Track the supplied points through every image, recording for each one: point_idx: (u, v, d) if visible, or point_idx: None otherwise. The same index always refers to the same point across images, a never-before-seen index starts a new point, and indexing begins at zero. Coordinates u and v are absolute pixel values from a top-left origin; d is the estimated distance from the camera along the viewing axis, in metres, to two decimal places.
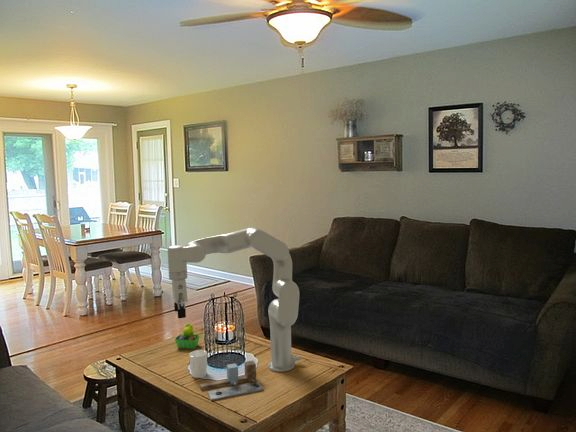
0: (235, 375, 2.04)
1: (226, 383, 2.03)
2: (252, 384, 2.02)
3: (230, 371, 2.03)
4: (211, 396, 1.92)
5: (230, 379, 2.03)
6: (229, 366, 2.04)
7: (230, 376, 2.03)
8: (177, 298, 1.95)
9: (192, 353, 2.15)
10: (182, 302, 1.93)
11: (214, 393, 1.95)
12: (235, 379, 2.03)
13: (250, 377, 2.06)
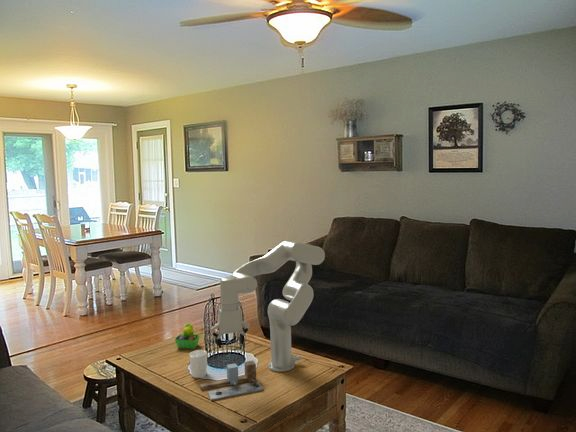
0: (235, 375, 2.04)
1: (226, 383, 2.03)
2: (252, 384, 2.02)
3: (230, 371, 2.03)
4: (211, 396, 1.92)
5: (230, 379, 2.03)
6: (229, 366, 2.04)
7: (230, 376, 2.03)
8: None
9: (192, 353, 2.15)
10: None
11: (214, 393, 1.95)
12: (235, 379, 2.03)
13: (250, 377, 2.06)
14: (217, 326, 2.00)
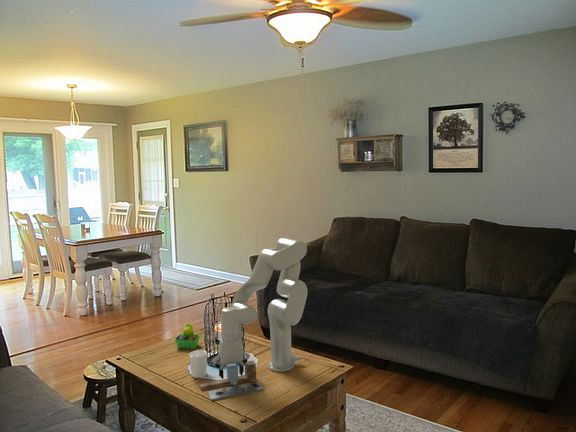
0: (235, 375, 2.04)
1: (226, 383, 2.03)
2: (252, 384, 2.02)
3: (230, 371, 2.03)
4: (211, 396, 1.92)
5: (230, 379, 2.03)
6: (229, 366, 2.04)
7: (230, 376, 2.03)
8: None
9: (192, 353, 2.15)
10: None
11: (214, 393, 1.95)
12: (235, 379, 2.03)
13: (250, 377, 2.06)
14: (218, 357, 2.01)
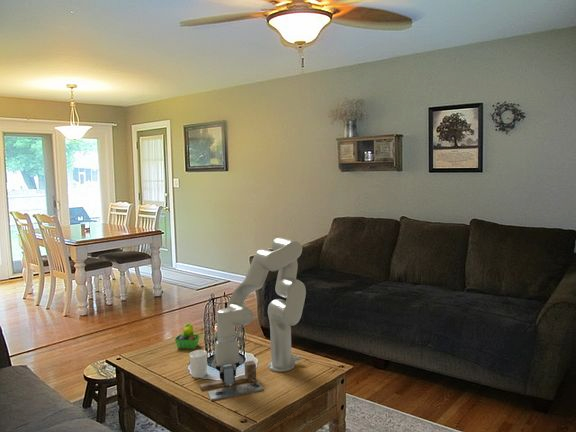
0: (231, 375, 2.03)
1: None
2: (252, 384, 2.02)
3: (225, 372, 2.02)
4: (211, 396, 1.92)
5: (225, 380, 2.02)
6: (224, 367, 2.04)
7: (225, 377, 2.02)
8: (239, 356, 2.04)
9: (192, 353, 2.15)
10: None
11: (214, 393, 1.95)
12: (230, 380, 2.03)
13: (250, 377, 2.06)
14: (215, 362, 2.01)
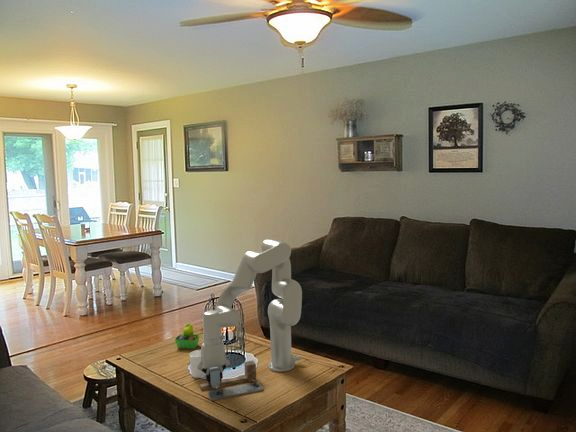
0: (217, 378, 2.01)
1: (226, 383, 2.03)
2: (252, 384, 2.02)
3: (212, 374, 2.00)
4: (211, 396, 1.92)
5: (212, 382, 2.00)
6: (211, 369, 2.01)
7: (212, 379, 2.00)
8: (225, 359, 2.02)
9: (192, 353, 2.15)
10: None
11: (214, 393, 1.95)
12: (217, 382, 2.01)
13: (250, 377, 2.06)
14: (201, 364, 1.99)
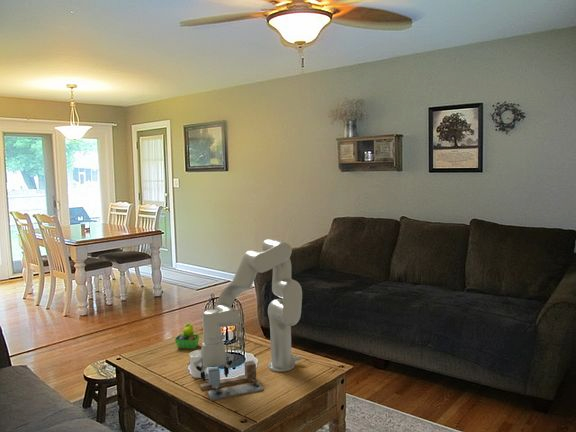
0: (217, 378, 2.01)
1: (226, 383, 2.03)
2: (252, 384, 2.02)
3: (211, 374, 2.00)
4: (211, 396, 1.92)
5: (211, 383, 2.00)
6: (211, 369, 2.01)
7: (211, 379, 2.00)
8: None
9: (192, 353, 2.15)
10: None
11: (214, 393, 1.95)
12: (217, 382, 2.01)
13: (250, 377, 2.06)
14: (200, 360, 1.99)
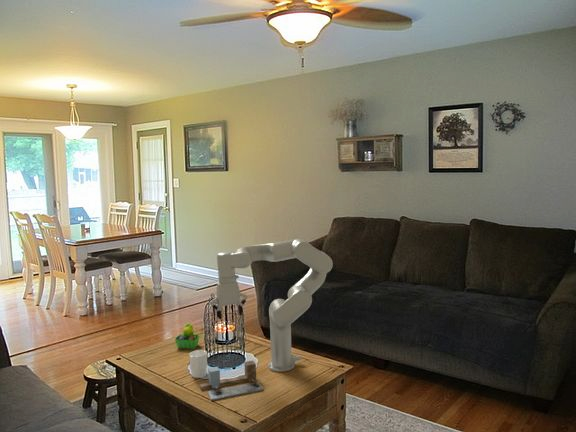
0: (217, 378, 2.01)
1: (226, 383, 2.03)
2: (252, 384, 2.02)
3: (211, 374, 2.00)
4: (211, 396, 1.92)
5: (211, 383, 2.00)
6: (211, 369, 2.01)
7: (211, 379, 2.00)
8: None
9: (192, 353, 2.15)
10: None
11: (214, 393, 1.95)
12: (217, 382, 2.01)
13: (250, 377, 2.06)
14: (216, 299, 2.10)
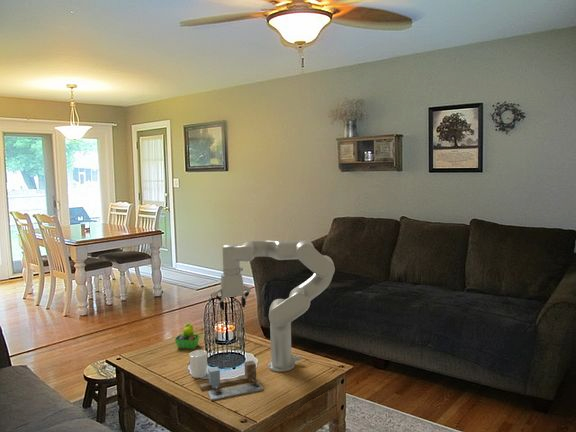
0: (217, 378, 2.01)
1: (226, 383, 2.03)
2: (252, 384, 2.02)
3: (211, 374, 2.00)
4: (211, 396, 1.92)
5: (211, 383, 2.00)
6: (211, 369, 2.01)
7: (211, 379, 2.00)
8: (243, 289, 2.18)
9: (192, 353, 2.15)
10: None
11: (214, 393, 1.95)
12: (217, 382, 2.01)
13: (250, 377, 2.06)
14: (220, 290, 2.15)
